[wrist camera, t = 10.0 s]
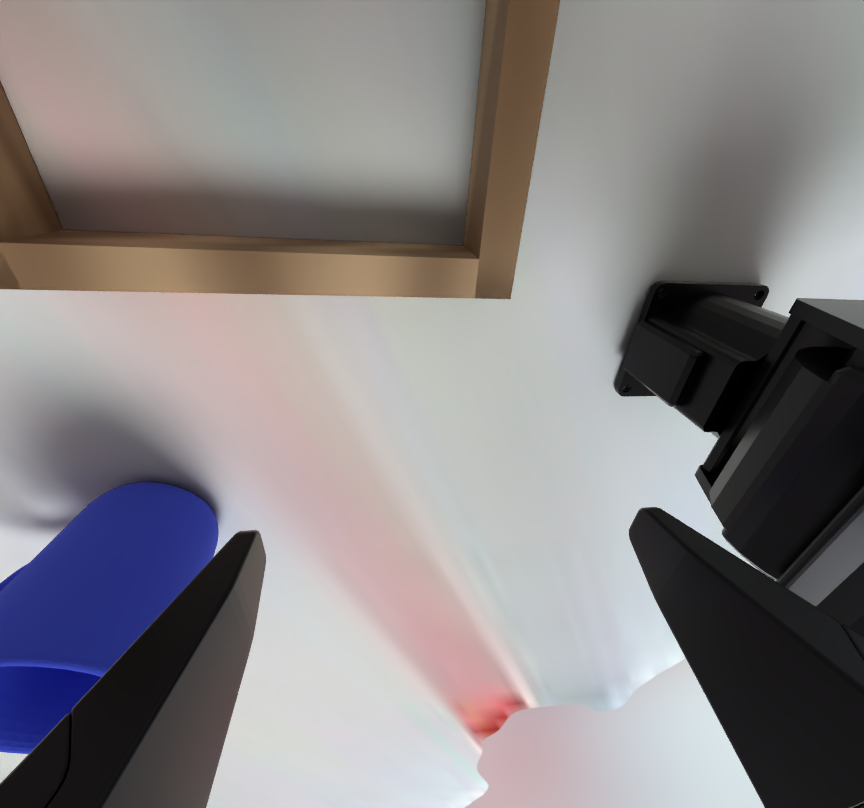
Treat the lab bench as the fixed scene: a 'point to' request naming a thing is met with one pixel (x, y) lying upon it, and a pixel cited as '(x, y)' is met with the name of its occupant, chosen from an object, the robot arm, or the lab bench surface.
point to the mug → (93, 600)
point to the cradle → (302, 258)
